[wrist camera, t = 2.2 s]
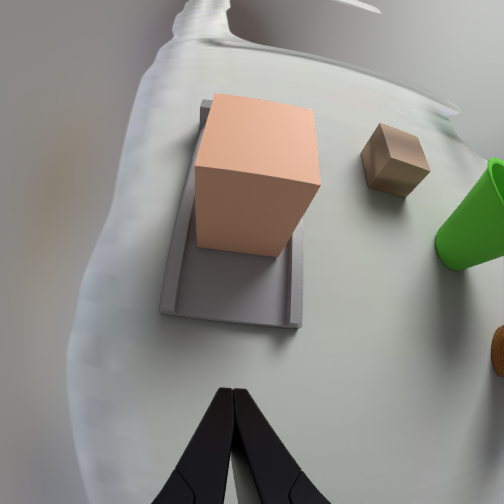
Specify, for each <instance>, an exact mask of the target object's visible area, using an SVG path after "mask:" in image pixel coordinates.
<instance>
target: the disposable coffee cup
mask: <svg viewBox="0 0 504 504" xmlns="http://www.w3.org/2000/svg"><path fill="white" fill-rule="evenodd" d="M492 362H493V366H494V369H495V371H496V373H497V374H498V375H499V376H501V377H504V325H502V326H500V327H499V328H498V329H497V330H496V332H495V334H494V337H493V341H492Z"/></svg>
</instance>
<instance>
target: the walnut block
mask: <svg viewBox="0 0 504 504" xmlns="http://www.w3.org/2000/svg"><path fill="white" fill-rule="evenodd" d="M361 156H362V161H363V165H364V170H365V175H366V180H367V185H368V188H371V189H375V190H379V191H383V192H387V193H391V194H395V195H398V196H402V197H405V198H406V197H407V196H408V195H409V194H410V193H411V192H412V191H413V189H414V188H415V187H416V186H417V185H418V184H419V183H420V182H421V181H422V180H423V179H424V178H425V177H426V176H427V175H428V174H429V173H430V168H429V166H428V163H427V160H426V158H425V155H424V152H423V150H422V147H421V145H420V142H419V140H418V138H417V137H416V136H414V135H411V134H409V133H406V132H404V131H401V130H398V129H396V128H393V127H390V126H387V125H385V124H382V123H379V125H378V127H377V128H376V130H375V131H374V133H373V134H372V136H371V138H370V139H369V141H368V142H367V144H366V146H365V147H364V149H363V150H362V152H361Z"/></svg>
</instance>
